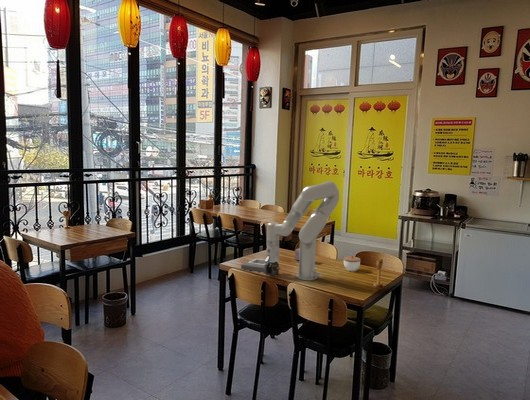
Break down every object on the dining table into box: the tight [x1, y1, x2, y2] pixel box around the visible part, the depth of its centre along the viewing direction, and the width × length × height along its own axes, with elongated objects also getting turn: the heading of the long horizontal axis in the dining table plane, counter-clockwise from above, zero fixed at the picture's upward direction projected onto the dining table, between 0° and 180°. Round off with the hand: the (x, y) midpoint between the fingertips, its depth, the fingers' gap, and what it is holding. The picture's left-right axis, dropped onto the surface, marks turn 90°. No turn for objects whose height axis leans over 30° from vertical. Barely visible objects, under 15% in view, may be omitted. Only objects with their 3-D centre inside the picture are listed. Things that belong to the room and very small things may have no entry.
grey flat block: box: [240, 258, 271, 274], centre depth 258 cm, size 18×16×4 cm
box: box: [264, 262, 280, 277], centre depth 244 cm, size 6×6×7 cm
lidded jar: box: [343, 255, 362, 272], centre depth 259 cm, size 11×11×9 cm
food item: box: [294, 247, 300, 261], centre depth 278 cm, size 14×8×10 cm, turn 44°
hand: (271, 271), depth 244 cm, fingers closed on box, 8 cm apart
